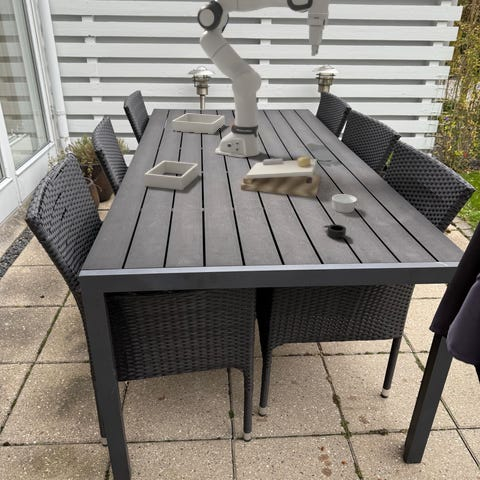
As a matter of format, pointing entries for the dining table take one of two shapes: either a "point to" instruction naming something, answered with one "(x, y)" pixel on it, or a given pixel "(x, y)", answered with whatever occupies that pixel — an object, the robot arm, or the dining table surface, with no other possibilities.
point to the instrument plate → (282, 168)
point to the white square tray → (198, 123)
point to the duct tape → (336, 231)
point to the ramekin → (343, 203)
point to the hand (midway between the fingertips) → (314, 55)
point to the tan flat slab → (284, 185)
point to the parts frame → (171, 182)
